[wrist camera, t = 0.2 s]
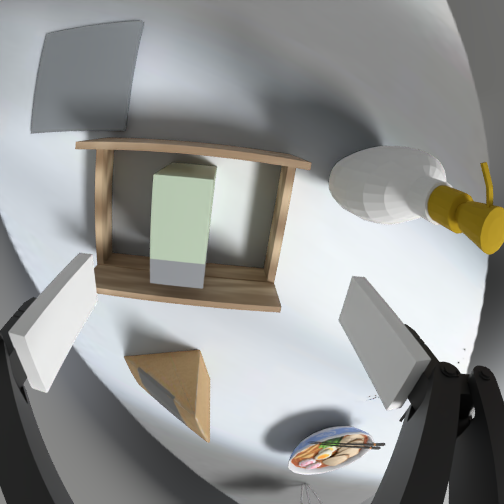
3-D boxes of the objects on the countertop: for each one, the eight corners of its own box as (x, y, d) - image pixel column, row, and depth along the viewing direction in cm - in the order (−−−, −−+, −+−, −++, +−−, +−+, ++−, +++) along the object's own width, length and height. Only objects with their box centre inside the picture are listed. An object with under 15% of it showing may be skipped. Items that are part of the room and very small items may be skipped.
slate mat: (49, 35, 27) (46, 33, 26) (144, 22, 29) (142, 20, 28) (34, 133, 33) (30, 133, 32) (125, 130, 35) (123, 130, 34)
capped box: (172, 162, 37) (153, 174, 27) (216, 166, 38) (214, 179, 28) (166, 245, 42) (150, 282, 32) (207, 250, 43) (202, 288, 33)
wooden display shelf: (108, 137, 35) (75, 141, 26) (290, 154, 38) (311, 162, 29) (107, 257, 42) (81, 290, 33) (268, 274, 45) (280, 312, 36)
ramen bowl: (263, 449, 66) (266, 474, 59) (315, 403, 59) (324, 432, 52) (331, 456, 73) (338, 477, 66) (383, 415, 66) (394, 437, 59)
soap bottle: (394, 129, 38) (540, 154, 14) (403, 185, 41) (534, 251, 17) (306, 148, 38) (424, 186, 14) (321, 209, 42) (426, 311, 18)
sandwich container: (122, 354, 50) (101, 416, 36) (199, 347, 50) (195, 415, 36) (138, 384, 53) (124, 444, 39) (210, 379, 53) (210, 443, 40)
